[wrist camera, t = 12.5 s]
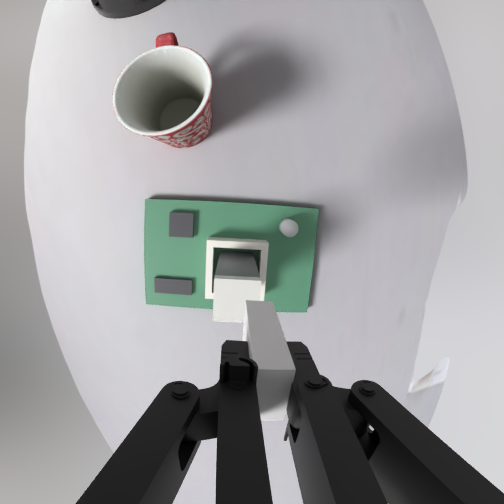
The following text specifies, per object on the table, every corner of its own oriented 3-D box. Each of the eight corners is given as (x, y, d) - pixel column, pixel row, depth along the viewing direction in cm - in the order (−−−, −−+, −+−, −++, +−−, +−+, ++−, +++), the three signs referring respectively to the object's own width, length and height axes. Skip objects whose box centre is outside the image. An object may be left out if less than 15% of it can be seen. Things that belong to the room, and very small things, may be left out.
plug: (220, 250, 36) (214, 278, 24) (252, 252, 36) (261, 280, 24) (219, 281, 36) (212, 321, 25) (250, 282, 37) (257, 323, 25)
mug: (221, 152, 34) (213, 129, 21) (152, 159, 34) (110, 143, 21) (218, 66, 32) (211, 11, 19) (152, 74, 31) (119, 27, 18)
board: (147, 199, 35) (139, 199, 31) (316, 208, 37) (324, 210, 33) (148, 300, 38) (140, 311, 34) (304, 309, 39) (311, 319, 36)
